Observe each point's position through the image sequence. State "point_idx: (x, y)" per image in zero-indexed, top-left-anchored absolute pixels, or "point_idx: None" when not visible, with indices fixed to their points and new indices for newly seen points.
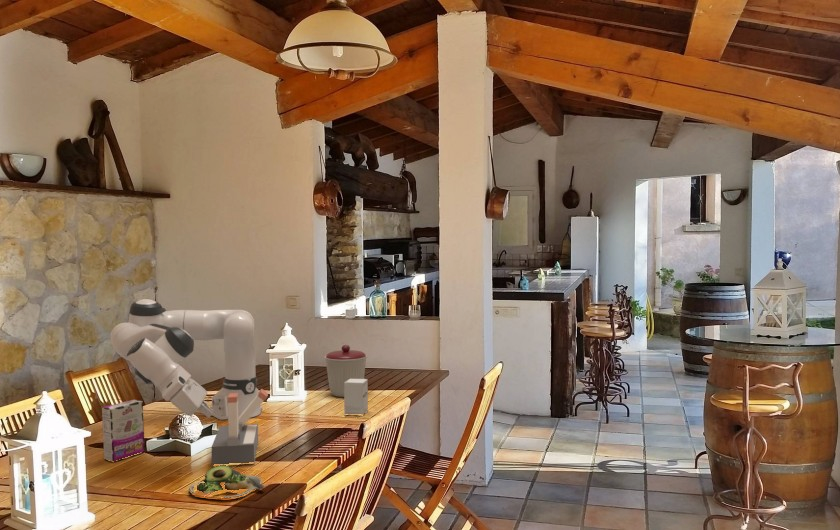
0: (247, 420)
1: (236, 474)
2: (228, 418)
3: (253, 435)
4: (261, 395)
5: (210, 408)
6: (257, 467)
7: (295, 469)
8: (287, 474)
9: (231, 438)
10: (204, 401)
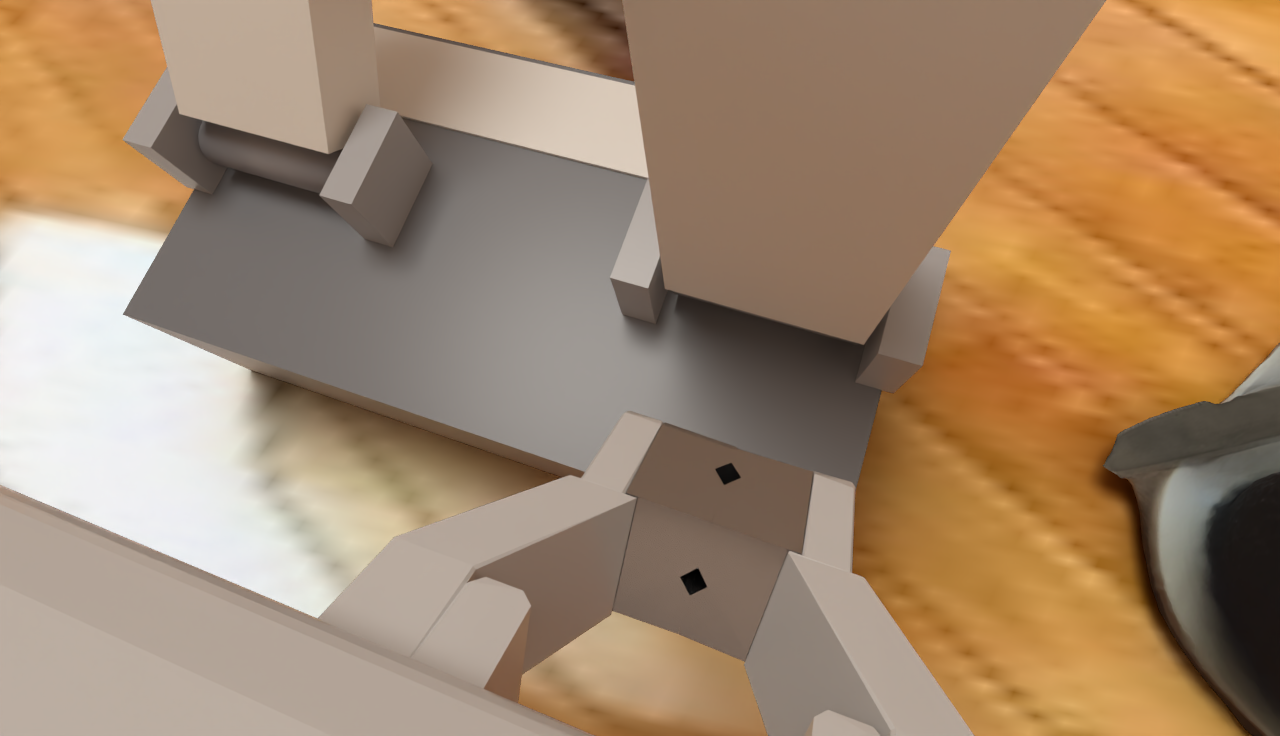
0: (374, 42)
1: (1264, 438)
2: (946, 224)
3: None
4: None
5: (635, 470)
6: (969, 240)
7: (1126, 29)
8: (1222, 94)
9: (931, 323)
10: (434, 620)
